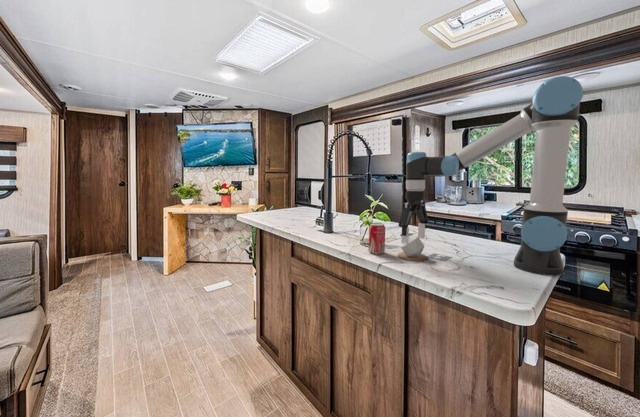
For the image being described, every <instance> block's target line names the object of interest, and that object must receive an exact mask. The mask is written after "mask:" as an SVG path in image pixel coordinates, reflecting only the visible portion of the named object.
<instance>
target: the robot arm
mask: <svg viewBox="0 0 640 417" xmlns="http://www.w3.org/2000/svg"><path fill="white" fill-rule="evenodd" d="M583 97H584V89H583V86H582V83H580V81H579V80H577V78H574V77H571V76H567V75H559V76H555V77H551V78H549V79H547V80H546V81H544V82H543V83H541V85H539V86H538V88H537V89H536V90H535V92H534V94H533V96H532V102H531V103H530V104H528V105H527V106H525V107H523V108H522V109H521V111H520V113H519V114H518V115H516V116H515V117H512V118H511V119H509V120H508V121H506V122H504V123H503V124H500V125H499V126H497V127H495V128H494V129H493V130H490V131H489V132H488V133H486V134H484V135H483V136H481V137H479V138H477V139H476V140H474V141H472V142H470V143H469V144H467V145H465V146H464V147H462V148H461V149H459V150H457V151H456V152H454V153H453V154H451V155H444V156H442V155H441V156H427V153H426V152H425V151H412V152H409V153H408V154H407V155H406V163H405V164H406V165H405V166H406V172H405V189H406V191H405V200H407V202H403V204H402V205H403V206H402V211H401V215H400V217H399V221H398V227H399V228H401V244H402V243H405V244H408V242H409V237H410V228H409V224H410V223H411V220H412V218H413V215H415V214H416V217H417V219H418V222H419V223H418V225H417V226H418V227H417V228H418V229H417V230H418V231H417V237H418V238H419V239H423V240H424V239H425V235H426V234H425V233H426V224H428V221H429V218H428V212H427V209H426V208H427V207H426V201H425V197H426V196H425V195H426V194H425V190H426V176H427V177H430V176H431V177H433V176H435V177H436V176H437V177H440V176H441V177H450V176H451V177H452V176H453V177H454V176H457V175H458V173H459V172H460V171H462V170H464V169H466V168H467V167H469V166H471V165H473V164H474V163H476V162H478V161H480V160H482V159H483V158H486V157H487V156H490V155H491V154H493V153H494V152H496V151H498V150H500V149H502V148H503V147H505V146H507V145H509V144H511V143H513V142H514V141H516V140H518V139H519V138H520V139H521V138H522V137H524V136H525V135H527V134H529V133H530V132H536V133H535V140H534V141H535V142H534V154H533V165H532V176H531V186H530V195H529V196H530V197H529V203H528V204H527V205H525V206H524V207H523V213H522V223H521V229H520V236H521V240H520V246H519V248H518V251H517V253H516V255H515V257H514V259H513V266H514V267H515V268H517V269H519V270H520V271H524V272H529V273H532V274H533V273H534V274H540V275H545V276H548V275H549V276H550V275H551V276H559V275H562V274H564V272H565V270H564V269H565V265H564V263H563V262H564V261H563V259H562V255H561V251H560V250H561V249H560V248H561V247H562V246H564V244H565V242H566V241H567V238H568V235H569V234H568V229H567V224H568V216H569V214H568V213H569V209H567V208H566V207H565V206H564V204H563V203H564V194H565V184H566V175H567V168H568V167H567V164H568V155H569V146H570V136H571V129H572V127H574V126H575V125H576V124H577V123H578V122H579V115H580V114H579V113H580V107H581V106H580V105H581V104H580V103H581V101H582V99H583Z"/></svg>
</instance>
